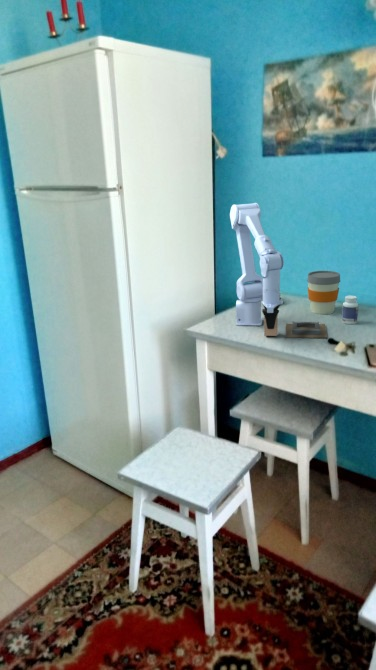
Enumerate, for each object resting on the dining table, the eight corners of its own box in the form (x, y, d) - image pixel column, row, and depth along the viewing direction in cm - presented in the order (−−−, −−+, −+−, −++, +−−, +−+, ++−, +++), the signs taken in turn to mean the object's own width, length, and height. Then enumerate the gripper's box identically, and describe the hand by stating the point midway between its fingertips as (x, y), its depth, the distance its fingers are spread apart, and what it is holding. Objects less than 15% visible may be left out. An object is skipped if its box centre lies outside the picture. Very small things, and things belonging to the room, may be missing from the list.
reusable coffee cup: (306, 305, 201) (307, 270, 196) (338, 306, 198) (340, 270, 193) (305, 315, 190) (306, 277, 185) (339, 316, 186) (341, 277, 181)
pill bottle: (357, 324, 176) (359, 298, 173) (342, 324, 177) (344, 298, 174) (356, 320, 181) (357, 294, 178) (341, 319, 182) (342, 294, 179)
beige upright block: (264, 335, 168) (264, 316, 166) (265, 331, 172) (265, 312, 170) (277, 335, 167) (277, 316, 165) (277, 331, 172) (277, 312, 169)
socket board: (285, 337, 167) (285, 332, 167) (286, 324, 180) (286, 319, 179) (327, 338, 164) (327, 333, 164) (324, 325, 177) (325, 320, 176)
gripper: (282, 294, 157) (282, 333, 162) (283, 283, 170) (283, 320, 175) (260, 294, 158) (260, 333, 163) (263, 283, 172) (263, 319, 176)
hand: (271, 326), depth 169 cm, fingers closed on beige upright block, 4 cm apart
